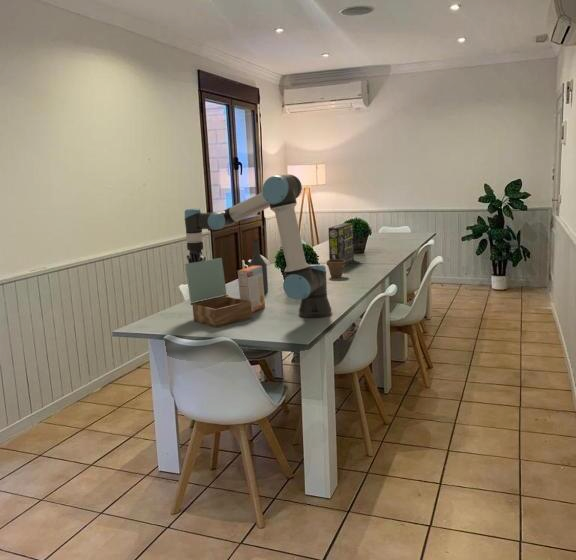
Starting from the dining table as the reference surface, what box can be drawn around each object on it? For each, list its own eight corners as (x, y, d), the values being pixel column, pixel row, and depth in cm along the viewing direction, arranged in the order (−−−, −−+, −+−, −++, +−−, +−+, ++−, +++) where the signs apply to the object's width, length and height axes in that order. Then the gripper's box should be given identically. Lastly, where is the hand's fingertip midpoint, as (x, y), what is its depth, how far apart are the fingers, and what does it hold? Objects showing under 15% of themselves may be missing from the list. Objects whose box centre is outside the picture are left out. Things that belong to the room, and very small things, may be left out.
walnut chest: (252, 318, 269) (251, 299, 267) (215, 327, 255) (214, 308, 254) (228, 311, 283) (226, 294, 281) (192, 320, 270) (190, 302, 268)
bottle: (251, 290, 330) (247, 237, 324) (268, 289, 329) (265, 237, 323) (249, 294, 319) (245, 240, 314) (267, 293, 319) (263, 239, 313)
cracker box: (255, 306, 291) (252, 265, 287) (265, 307, 289) (262, 265, 285) (240, 313, 279) (236, 270, 275) (250, 314, 276) (247, 270, 272)
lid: (221, 257, 279) (220, 257, 279) (186, 264, 266) (184, 264, 267) (226, 294, 281) (225, 294, 281) (191, 302, 268) (190, 302, 269)
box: (344, 260, 417) (343, 222, 412) (354, 260, 414) (353, 222, 409) (329, 268, 387) (327, 228, 382) (340, 268, 384) (338, 228, 379)
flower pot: (350, 276, 355) (349, 260, 353) (337, 279, 348) (336, 262, 346) (336, 274, 364) (335, 258, 362) (323, 277, 356) (322, 261, 354)
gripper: (209, 241, 273) (212, 290, 278) (194, 239, 283) (197, 287, 288) (195, 243, 269) (199, 293, 273) (180, 241, 278) (184, 290, 283)
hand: (198, 290), depth 280 cm, fingers closed
